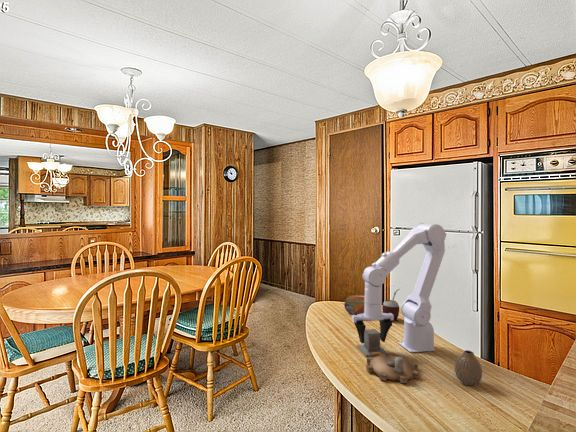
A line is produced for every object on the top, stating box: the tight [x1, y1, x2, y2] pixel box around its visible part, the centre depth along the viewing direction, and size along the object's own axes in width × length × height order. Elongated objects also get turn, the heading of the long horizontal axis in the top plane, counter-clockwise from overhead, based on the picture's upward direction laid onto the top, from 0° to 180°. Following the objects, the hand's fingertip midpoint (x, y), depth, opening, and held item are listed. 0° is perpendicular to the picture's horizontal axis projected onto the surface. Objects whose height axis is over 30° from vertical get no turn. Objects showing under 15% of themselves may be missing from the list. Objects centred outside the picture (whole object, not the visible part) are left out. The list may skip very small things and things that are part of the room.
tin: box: [343, 295, 365, 315], centre depth 155 cm, size 15×3×8 cm, turn 81°
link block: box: [363, 328, 381, 352], centre depth 116 cm, size 4×4×6 cm
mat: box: [356, 344, 390, 358], centre depth 116 cm, size 8×8×1 cm
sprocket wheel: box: [366, 354, 421, 384], centre depth 102 cm, size 16×16×5 cm
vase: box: [454, 349, 483, 387], centre depth 96 cm, size 7×7×9 cm
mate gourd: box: [382, 288, 400, 322], centre depth 147 cm, size 8×8×15 cm
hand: (372, 341), depth 116 cm, fingers open, 7 cm apart
